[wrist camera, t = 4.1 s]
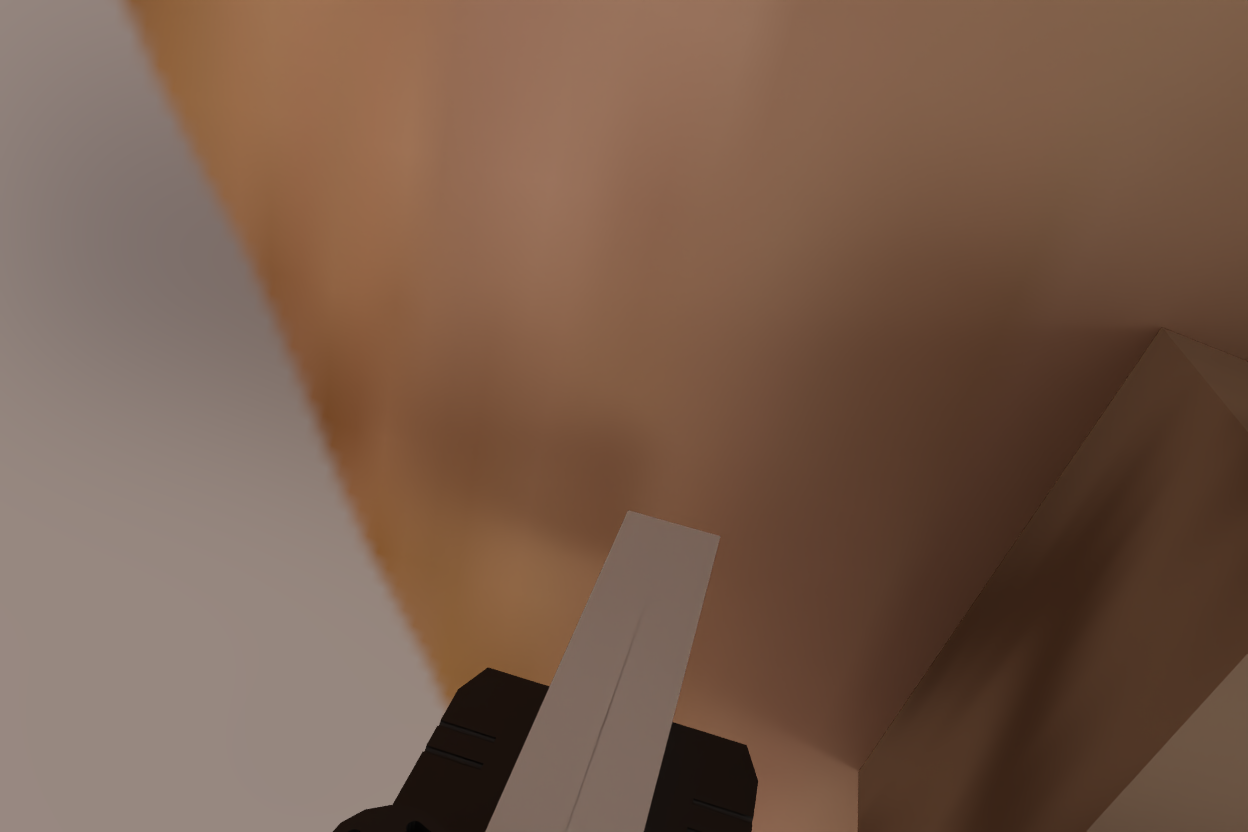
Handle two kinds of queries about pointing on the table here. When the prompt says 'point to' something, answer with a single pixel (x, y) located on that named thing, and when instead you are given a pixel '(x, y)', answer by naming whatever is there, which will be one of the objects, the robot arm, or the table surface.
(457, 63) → the table surface
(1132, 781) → the walnut block
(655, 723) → the robot arm
